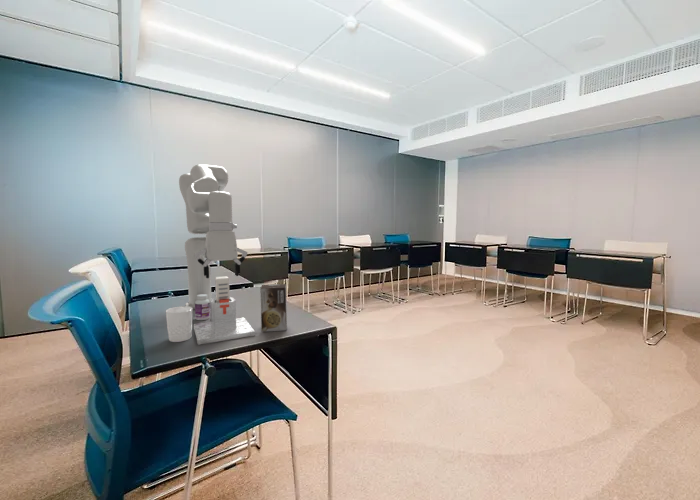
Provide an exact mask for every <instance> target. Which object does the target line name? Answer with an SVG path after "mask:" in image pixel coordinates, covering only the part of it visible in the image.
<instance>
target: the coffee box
mask: <svg viewBox="0 0 700 500" xmlns="http://www.w3.org/2000/svg"><path fill="white" fill-rule="evenodd" d="M259 289H260V290H259V291H260V293H259V295H260V320H261V321H260V324H261V325H260V326H261V327H260V328H261V330H260V331H261V333H262V332H280V331H287V329H288V327H287V326H288V318H287V317H288V316H287V311H288V309H287V284H286V283H279V284H278V283H275V284H271V283H270V284H261V286H260V288H259Z"/></svg>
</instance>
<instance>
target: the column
mask: <svg viewBox="0 0 700 500" xmlns="http://www.w3.org/2000/svg"><path fill="white" fill-rule="evenodd" d="M214 279H215V280H214V281H215V298H216V303H218V302H219V299H229V301H230V297H231V296H230V277H228V276H227V275H226V276H215V277H214Z"/></svg>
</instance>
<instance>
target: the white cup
mask: <svg viewBox="0 0 700 500" xmlns="http://www.w3.org/2000/svg"><path fill="white" fill-rule="evenodd" d="M193 311H194V309H193V308H192V307H188V306H185V305H184V306H175V307H170V308H168V309H166V310H165V317H166V327H167V328H166V329H167V335H168V341H169V342H172V343H179V342H185V341H188V340H190V339H192V336H193V334H192V332H193V331H192V330H193Z"/></svg>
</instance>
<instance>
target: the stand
mask: <svg viewBox="0 0 700 500" xmlns="http://www.w3.org/2000/svg"><path fill="white" fill-rule="evenodd" d="M229 297H230V301H229V299H219V302H218V303H216V297H214V298H211V300H210V317H209V319H210V321H207V322H199V323H193V331H194V335H195V338H196V343H197V346H199V345H206V344H211V343H217V342H222V341H223V342H224V341H229V340H237V339H240V338H241V339H242V338H247V337H253V336H256V331H255V330H254V328H253V327H252V326H251V324H250V323H249V322H248V320H247V319H246V318H245V317H237V312H236V311H237V309H236V307H237V304H236V303H237V302H236V299H235V298H234V297H231V296H229Z"/></svg>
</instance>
